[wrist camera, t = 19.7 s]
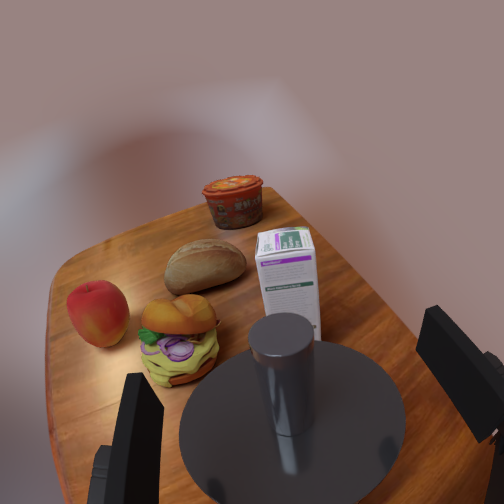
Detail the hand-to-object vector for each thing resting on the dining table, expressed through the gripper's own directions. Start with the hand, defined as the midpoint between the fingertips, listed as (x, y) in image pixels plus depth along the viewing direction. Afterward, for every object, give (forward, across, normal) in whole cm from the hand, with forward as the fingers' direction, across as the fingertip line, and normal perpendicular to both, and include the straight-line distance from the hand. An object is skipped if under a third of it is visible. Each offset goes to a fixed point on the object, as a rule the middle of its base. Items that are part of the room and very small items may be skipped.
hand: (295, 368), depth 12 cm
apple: (+25, -24, -17) cm, 38 cm away
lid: (+2, 0, -7) cm, 7 cm away
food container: (+67, 0, -17) cm, 69 cm away
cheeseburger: (+19, -11, -17) cm, 28 cm away
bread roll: (+37, -8, -17) cm, 41 cm away
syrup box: (+18, +3, -17) cm, 25 cm away
